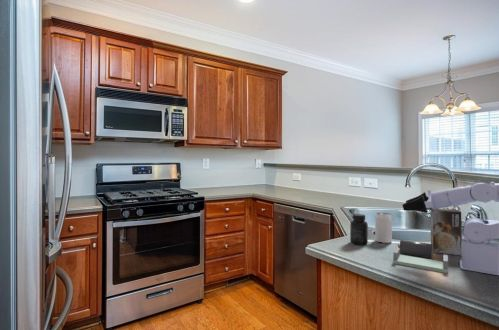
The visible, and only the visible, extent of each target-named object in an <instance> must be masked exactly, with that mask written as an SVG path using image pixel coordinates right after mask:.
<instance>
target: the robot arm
mask: <svg viewBox="0 0 499 330" xmlns="http://www.w3.org/2000/svg"><path fill="white" fill-rule="evenodd" d="M489 183H490V184H488V183H485V182H476V183H474V184H472V185H465V186H459V187H458V186H457V187H453V188H447V189H443V190H437V191H432V190H431V189H430V188H429V189H427V194H426V192H424V191H423V193H421V194H420V195H418V196H416V197H413V198H409V199H407V200H406V201H405V203H403V204H402V205H401V206H402V208H403V211H406V212H407V211H408V212H409V211H411V212H421V213H426V214H427V213H428V209H429V208H430V209H431V208H432V209H434V210H436V209H445V208H450V207H456V206H460V205H461V206H463V205H467V204H469V203H476V202H477V201H478V202H481V203H486V204H487V203H489V202H492V201H493V202H495V203H499V182H498V183H495V181H490V182H489ZM427 195H428V196H427ZM463 235H464V236H462V255H461V260H459V267H460V268H459V269H461V270H466V271H471V272H477V273H484V274H488V275H489V274H490V275H495V276H499V244H498V243H495V242H491V240H496V239H499V220H496V219H495V220H494V219H482V218H479V217H469V218H468V219H466V220H465V221H464V223H463Z"/></svg>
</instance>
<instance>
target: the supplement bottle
mask: <svg viewBox="0 0 499 330" xmlns="http://www.w3.org/2000/svg"><path fill="white" fill-rule="evenodd" d="M368 226H369V225H368V222H367V221H366V215H365V214H361V213H354V214H352V220H351V221H350V225H349V232H350V235H349V236H350V237H349V238H350V239H349V240H350V241H349V242H350V244H352V245H354V246H362V247H363V246H367V245H368V244H369V243H368V241H369V240H368V239H369V238H368V237H369V233H368V232H369V227H368Z"/></svg>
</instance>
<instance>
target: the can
mask: <svg viewBox="0 0 499 330" xmlns="http://www.w3.org/2000/svg"><path fill="white" fill-rule="evenodd" d="M374 217H375V219H374V220H375V222H374V223H375V224H374V233H375V234H374V240H375V242H377V241H378V243H379V242H382V243H381V244H391V243H392V241H393V218H392V216H391V213H390V212H389V213H388V212H376V215H375V216H374ZM390 242H391V243H390Z"/></svg>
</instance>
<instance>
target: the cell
mask: <svg viewBox="0 0 499 330" xmlns="http://www.w3.org/2000/svg"><path fill="white" fill-rule="evenodd" d="M399 240H400V241H399V244H397V248H400V255H406V256H412V257H418V258H425V259H432V258H433V251H432V244H431V243H426V242H419V241H413V240H405V239H399Z"/></svg>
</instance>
